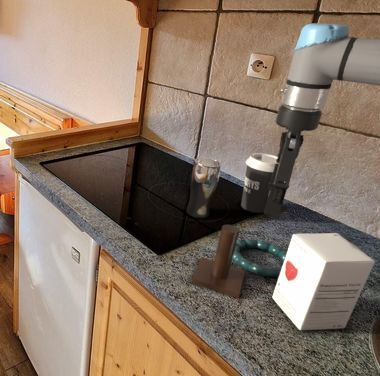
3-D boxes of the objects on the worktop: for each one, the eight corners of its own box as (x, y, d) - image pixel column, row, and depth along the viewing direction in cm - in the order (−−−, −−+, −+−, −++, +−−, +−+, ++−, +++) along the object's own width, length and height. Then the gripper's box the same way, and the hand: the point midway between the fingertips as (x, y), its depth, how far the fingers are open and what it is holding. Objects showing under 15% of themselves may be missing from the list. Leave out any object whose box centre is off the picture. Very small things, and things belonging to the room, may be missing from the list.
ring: (293, 255, 93) (296, 248, 93) (292, 286, 83) (294, 278, 82) (233, 239, 99) (235, 232, 98) (224, 266, 89) (226, 258, 88)
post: (244, 274, 86) (258, 225, 81) (238, 298, 79) (253, 246, 74) (200, 261, 90) (211, 213, 85) (191, 283, 83) (202, 232, 78)
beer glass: (178, 209, 113) (188, 159, 106) (197, 204, 116) (207, 155, 109) (197, 221, 107) (208, 168, 101) (216, 215, 110) (228, 164, 104)
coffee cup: (244, 197, 121) (257, 149, 115) (278, 208, 115) (292, 159, 108) (229, 206, 115) (240, 156, 109) (262, 219, 109) (277, 167, 103)
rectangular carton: (269, 297, 80) (290, 232, 74) (312, 296, 81) (337, 231, 74) (298, 331, 72) (325, 261, 65) (346, 329, 72) (377, 260, 66)
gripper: (282, 93, 92) (258, 179, 101) (277, 118, 72) (248, 221, 81) (320, 98, 89) (293, 185, 98) (326, 125, 69) (291, 231, 78)
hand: (272, 202), depth 90 cm, fingers open, 13 cm apart
